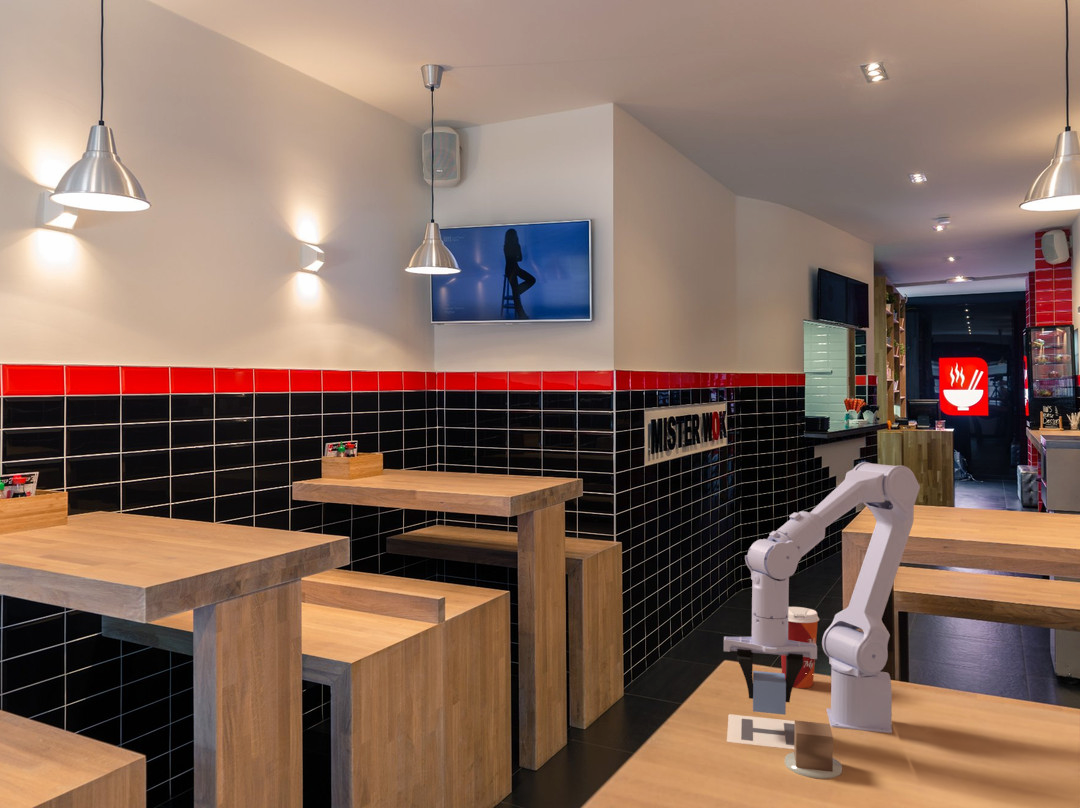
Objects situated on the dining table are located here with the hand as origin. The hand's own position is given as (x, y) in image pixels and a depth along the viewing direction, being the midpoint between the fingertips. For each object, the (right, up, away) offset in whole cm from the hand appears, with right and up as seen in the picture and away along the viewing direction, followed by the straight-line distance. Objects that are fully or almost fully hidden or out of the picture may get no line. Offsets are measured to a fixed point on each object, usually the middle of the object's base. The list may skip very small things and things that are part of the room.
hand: (768, 698), depth 132 cm
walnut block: (+3, -5, -13) cm, 14 cm away
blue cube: (0, -2, 0) cm, 2 cm away
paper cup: (+12, -6, +25) cm, 28 cm away
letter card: (0, -6, 0) cm, 6 cm away
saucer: (+3, -6, -13) cm, 14 cm away
